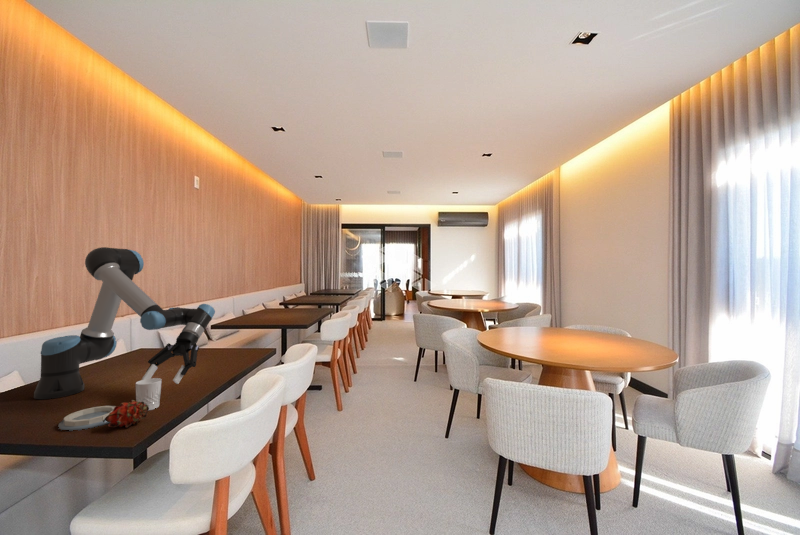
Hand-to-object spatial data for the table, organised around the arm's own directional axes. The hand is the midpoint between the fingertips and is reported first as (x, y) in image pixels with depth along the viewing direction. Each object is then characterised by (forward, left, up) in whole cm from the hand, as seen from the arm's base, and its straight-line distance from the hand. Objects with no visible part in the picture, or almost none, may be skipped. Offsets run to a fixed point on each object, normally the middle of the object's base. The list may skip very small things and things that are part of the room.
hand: (159, 381), depth 132 cm
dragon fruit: (+6, -18, -9) cm, 21 cm away
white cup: (-1, -4, -9) cm, 10 cm away
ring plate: (-10, -17, -9) cm, 21 cm away
